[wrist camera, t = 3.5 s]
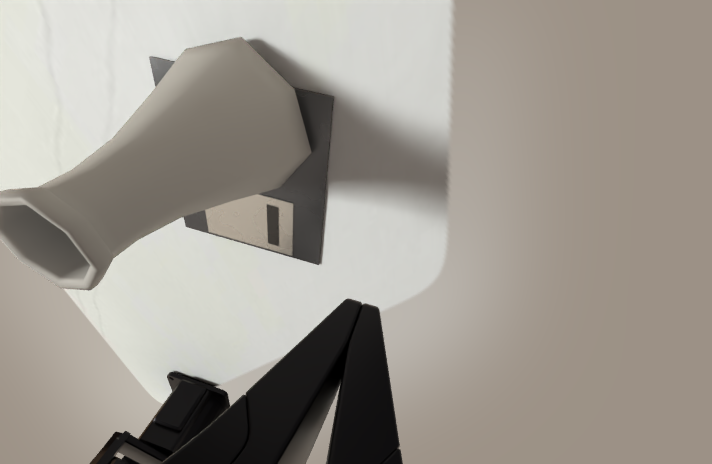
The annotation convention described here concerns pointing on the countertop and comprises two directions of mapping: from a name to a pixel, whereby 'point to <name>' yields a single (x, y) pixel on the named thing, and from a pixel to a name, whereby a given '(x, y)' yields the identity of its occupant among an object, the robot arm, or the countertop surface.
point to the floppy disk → (278, 192)
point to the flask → (162, 165)
